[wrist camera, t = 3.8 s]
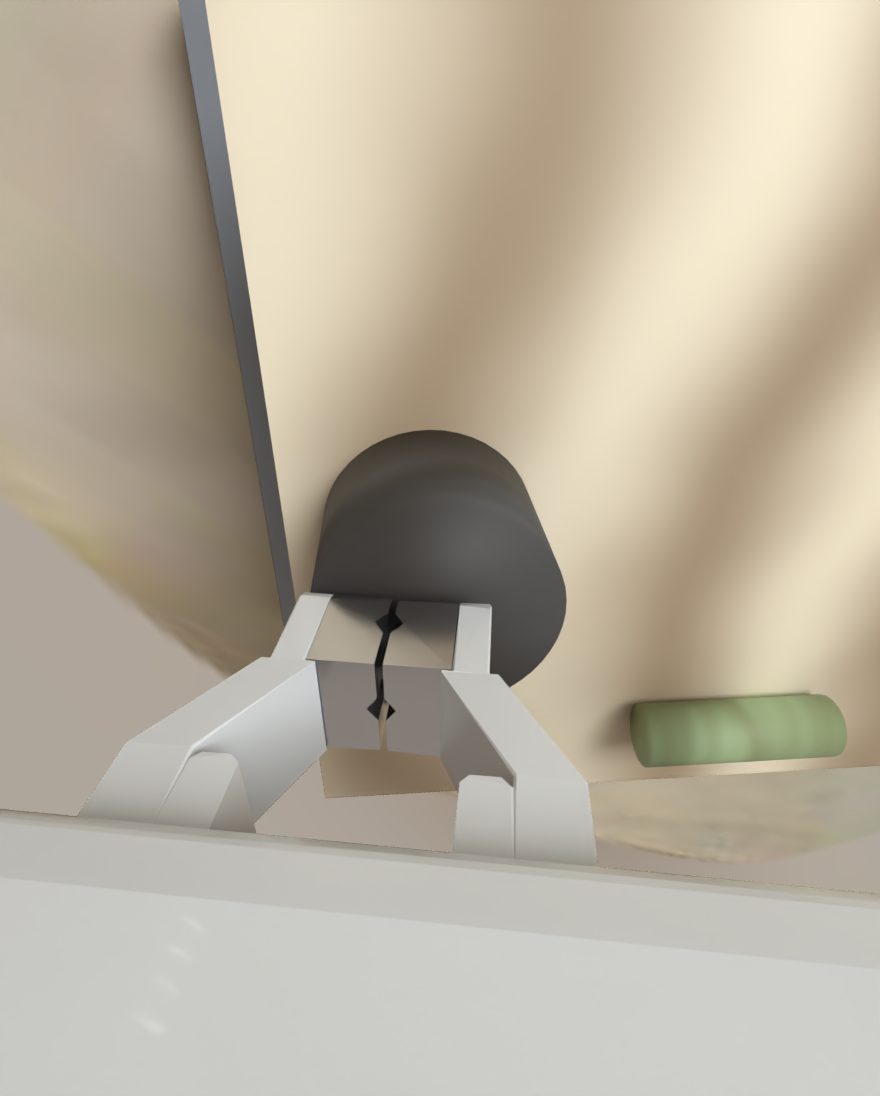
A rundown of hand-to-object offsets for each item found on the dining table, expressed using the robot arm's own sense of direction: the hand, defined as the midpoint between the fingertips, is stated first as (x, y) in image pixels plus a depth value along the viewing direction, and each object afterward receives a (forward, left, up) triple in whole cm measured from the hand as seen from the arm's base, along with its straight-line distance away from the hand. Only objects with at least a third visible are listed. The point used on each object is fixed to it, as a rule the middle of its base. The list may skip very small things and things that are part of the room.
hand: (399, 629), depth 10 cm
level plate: (-7, 0, -6) cm, 9 cm away
